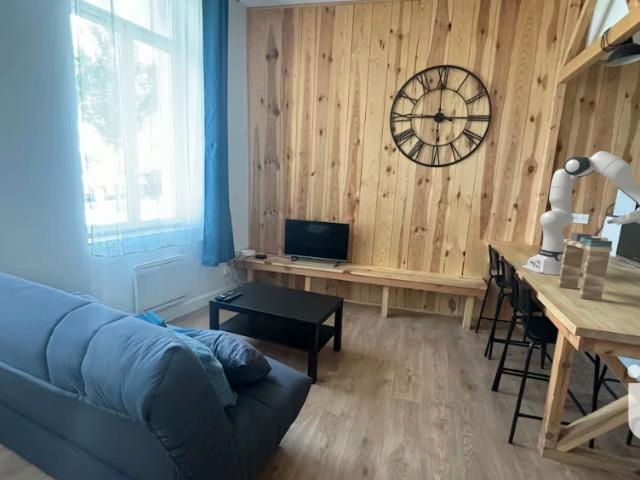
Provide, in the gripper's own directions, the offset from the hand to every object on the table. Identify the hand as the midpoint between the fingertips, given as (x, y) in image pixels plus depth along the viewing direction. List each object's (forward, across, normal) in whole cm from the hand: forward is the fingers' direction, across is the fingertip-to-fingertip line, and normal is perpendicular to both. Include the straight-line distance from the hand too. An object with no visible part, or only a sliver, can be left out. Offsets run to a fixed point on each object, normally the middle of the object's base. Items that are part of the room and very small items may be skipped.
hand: (609, 221), depth 184 cm
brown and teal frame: (+22, +7, +34) cm, 41 cm away
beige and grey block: (+12, +5, +9) cm, 16 cm away
